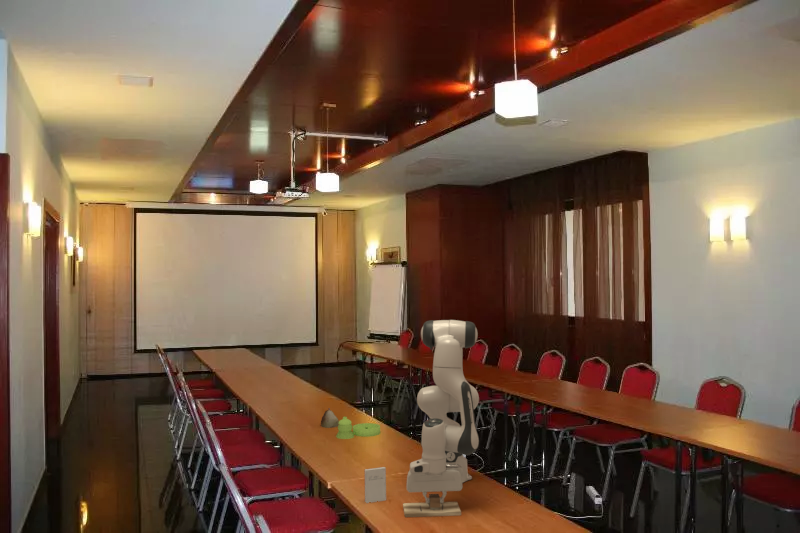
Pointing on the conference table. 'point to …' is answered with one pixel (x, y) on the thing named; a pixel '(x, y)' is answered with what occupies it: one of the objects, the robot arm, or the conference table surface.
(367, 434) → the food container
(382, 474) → the hard drive
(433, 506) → the block
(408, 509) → the board
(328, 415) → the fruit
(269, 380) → the conference table surface
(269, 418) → the conference table surface
